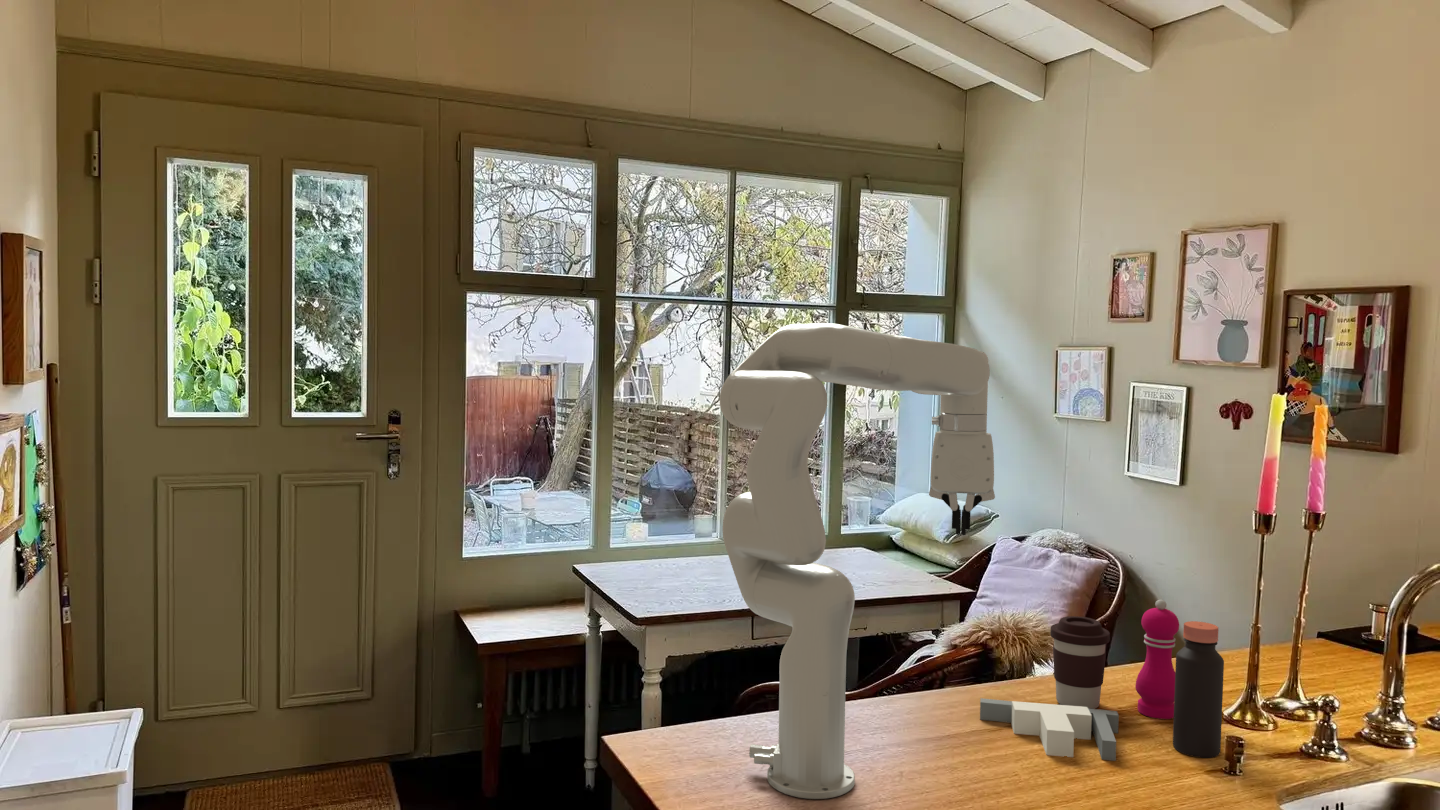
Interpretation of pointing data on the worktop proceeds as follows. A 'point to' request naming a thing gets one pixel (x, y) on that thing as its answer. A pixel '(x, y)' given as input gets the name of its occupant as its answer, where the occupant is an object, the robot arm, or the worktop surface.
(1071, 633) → the coffee cup
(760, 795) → the worktop surface
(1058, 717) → the t block
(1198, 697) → the bottle
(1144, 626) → the pepper mill
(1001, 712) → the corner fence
